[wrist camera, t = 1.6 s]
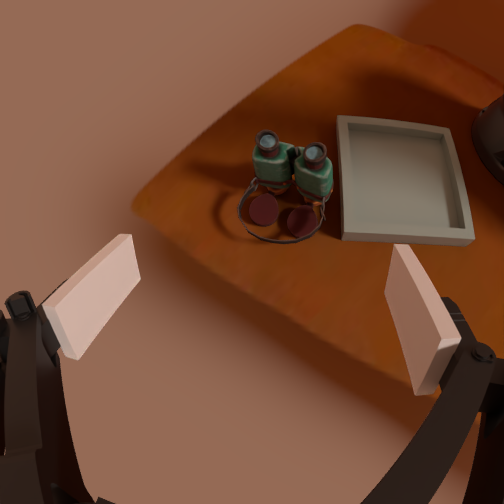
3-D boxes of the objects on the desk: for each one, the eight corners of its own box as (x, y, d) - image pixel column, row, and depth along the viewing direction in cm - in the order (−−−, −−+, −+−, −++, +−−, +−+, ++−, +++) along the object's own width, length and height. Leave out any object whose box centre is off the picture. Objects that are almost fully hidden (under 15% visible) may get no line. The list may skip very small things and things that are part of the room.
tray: (443, 139, 36) (449, 128, 33) (465, 246, 31) (475, 239, 29) (335, 127, 38) (337, 115, 36) (341, 240, 34) (344, 231, 31)
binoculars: (211, 206, 26) (253, 112, 27) (238, 238, 36) (268, 164, 38) (314, 239, 24) (347, 135, 25) (313, 263, 34) (338, 184, 35)
